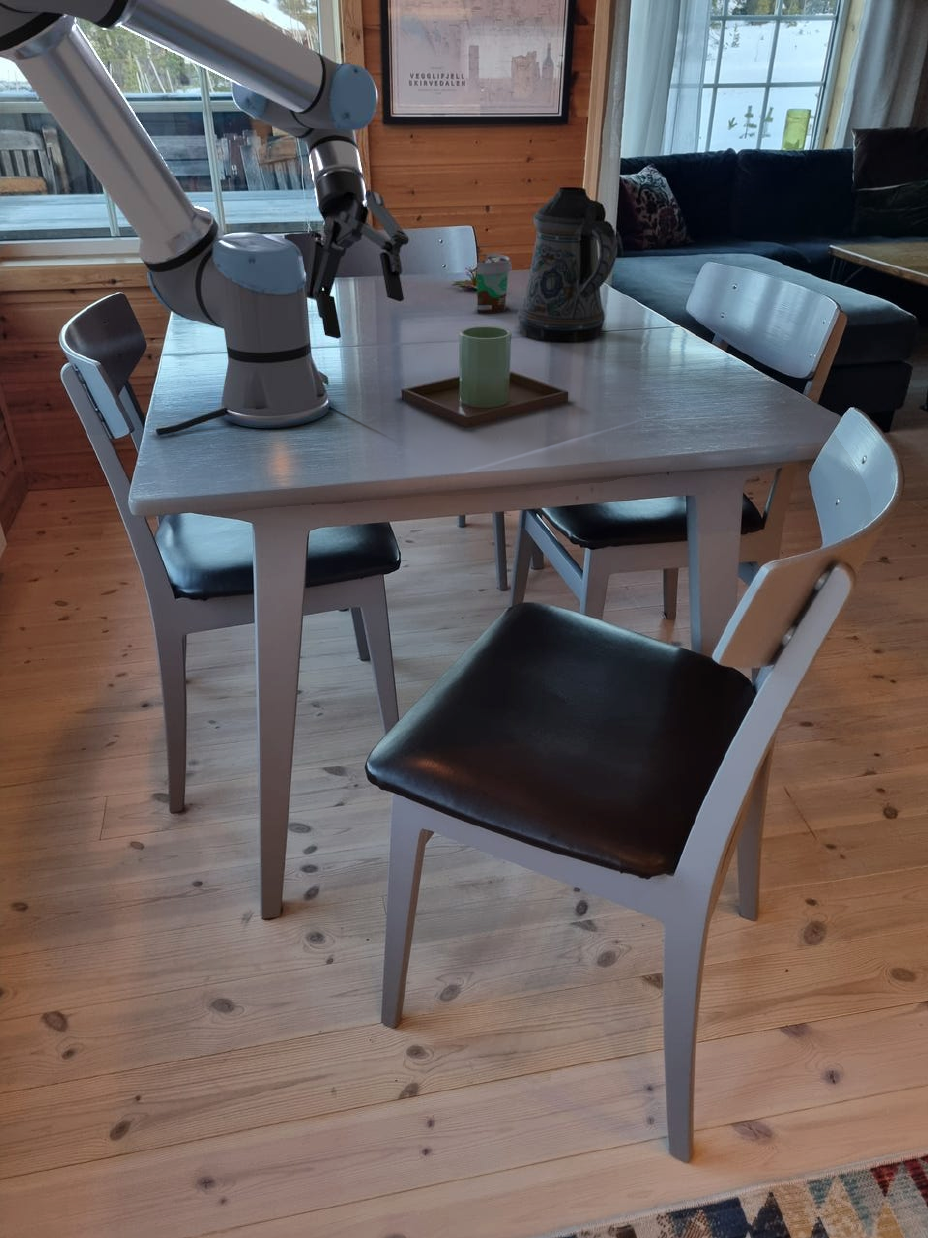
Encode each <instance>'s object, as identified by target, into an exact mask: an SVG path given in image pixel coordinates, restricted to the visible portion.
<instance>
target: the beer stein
mask: <svg viewBox="0 0 928 1238" xmlns="http://www.w3.org/2000/svg"><path fill="white" fill-rule="evenodd" d="M606 213H607V212H606V208H605V206H604V204H603V203H601V202H599V201H598V200H593V199H590V197H589V196H588V195H587V191H586V188H585V187H578V186H575V187H574V186H563V187H559V188H558V190H557V192H556V193H555V194H554V196H552V197H551V198H550V200H548V201H547V202H546V203H544V205H542V206H541V207H540V208H538V209H537V211H536V212H535V213H534V215H533V225H534V227H535V229H536V235H535V241H534V248H533V252H532V253H533V254H532V260H531V265H530V270H529V276H528V282H527V285H526V290H525V293H524V297H523V301H522V303H521V305H520V307H519V309H518V310H517V311H518V312H517V317H518V323H519V333H520V334H522V335H523V336H524V337H526V338H529V339H533V340H537V341H540V342H550V343H577V342H578V343H579V342H586V341H587V342H588V341H590V340H595V339H597V338H598V337H600V336H601V333H602V329H603V326H604V323H605V318H606V314H605V310H604V308H603V307H604V306H603V303H602V296H601V287H602V286H603V285H604V283H606V281H607V280H608V278H609V276H610V274H611V272H612V271H613V269H614V265H615V262H616V259H617V255H618V240H617V236H616V233H615V229H614V228H613V225H612V224H611V222H609V221H608V220H606V216H607V215H606ZM598 246H599V247H598ZM598 250H599V251H598Z"/></svg>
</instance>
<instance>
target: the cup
mask: <svg viewBox="0 0 928 1238" xmlns="http://www.w3.org/2000/svg"><path fill="white" fill-rule="evenodd" d="M511 356H512V331H511V330H509V328H504V327H500V326H491V325H480V326H479V325H477V326H471V327H465V328H463V329H461V330H460V331H459V376H460V401H461V402H462V403H463V404H465V405H467V406H471V407H478V408H492V407H499V406H502V405H505V404H507V403H508V402H509V394H510V371H511V358H512V357H511Z"/></svg>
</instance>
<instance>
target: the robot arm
mask: <svg viewBox="0 0 928 1238" xmlns="http://www.w3.org/2000/svg"><path fill="white" fill-rule="evenodd" d="M77 19H81V20H83V21H85V22H88V23H90V24H92V25H95V26H96V27H99V28H101V29H103V30H112V29H114V28H116V27H118V26H120V27H122V28H124V29H126V30H128V31H130V32H131V33H134V34H135V35H138V36H140V37H142V38H144V39H146V40H148V41H150V42H152V43H154V44H156V45H157V46H160V47H161V48H164V49H167V50H168V51H170V52H172V53H175V54H176V55H178V56H181V57H182V58H185V59H187V60H189V61H191V62H192V63H195V64H196V65H199V66H201V67H203V68H205V69H207V70H209V71H211V72H213V73H215V74H217V75H219V76H221V77H223V78H225V79H227V80H230V81H231V96H232V100H233V102H234V104H235V105H236V107H237V108H238V109H239V110H240V111H242V112H244V113H246V114H247V115H248V116H250V117H252V118H253V119H254V120H258V121H260V122H262V123H265V124H267V125H269V126H271V127H274V128H276V129H277V130H280V131H282V132H284V133H286V134H288V135H291V136H292V137H294V138H296V139H298V140H301V141H302V142H304V143H305V145H306V149H307V154H308V155H307V156H308V159H309V165H310V170H311V176H312V183H313V186H314V193H315V198H316V204H317V209H318V212H319V214H320V215H321V217H322V219H323V228H322V229H321V230H319V231H315V230H311V231H310V232H309V244H310V248H309V256H308V263H307V272H306V271H305V265H304V261H303V254H302V252H301V250H300V248H299V247H298V246H297V245H296V244H295V243H294V242H293V241H291V240H289V239H286V238H284V237H282V236H278V235H273V234H267V233H266V234H262V233H259V232H233V233H227V234H225V233H224V232H223V230H222V228H221V227H220V226H219V224H218V222H217V221H216V219H215V217H214V216H213V215H212V213H211V212H210V210H208V209H207V208H204V207H200V206H195V205H193V203H192V202H191V200H190V199H189V198H188V196H187V194H186V193H185V190H184V189H183V188H182V186H181V184H180V183H179V182H178V180H177V179H176V177H175V175H174V173H173V172H172V171H171V169H170V167H169V166H168V164H167V163H166V161H165V160H164V158H163V156H162V155H161V153H160V152H159V150H158V149H157V147H156V145H155V144H154V142H153V141H152V139H151V138H150V136H149V134H148V133H147V131H146V129H145V128H144V127H143V125H142V124H141V122H140V120H139V119H138V117H137V116H136V114H135V112H134V111H133V109H132V107H131V106H130V105H129V102H128V101H127V99H126V97H124V95H123V94H122V92H121V91H120V88H119V87H118V86H117V84H116V83H115V81H114V79H113V78H112V76H111V75H110V73H109V72H108V70H107V68H106V67H105V65H104V64H103V62H102V61H101V59H100V57H99V56H98V54H97V53H96V51H95V50H94V48H93V47H92V45H91V43H90V42H89V40H88V39H87V37H86V35H85V34H84V32H83V31H82V29H81V28H80V26H79V25H78V23H77ZM0 58H2V59H6V60H9V61H11V62H13V64H15V66H16V67H17V68H18V69H19V71H20V73H21V74H22V75H23V77H24V78H25V79H26V81H27V82H28V83H29V85H30V87H31V88H32V89H33V90H34V92H35V93H36V95H37V96H38V98H39V99H40V100H41V102H42V103H43V104H44V106H45V108H46V109H47V110H48V112H49V113H50V114H51V116H52V117H53V118H54V121H56V123H57V124H58V126H59V127H60V128H61V130H62V131H63V133H64V134H65V135H66V137H67V139H68V140H69V141H70V143H71V144H72V145H73V147H74V148H75V150H76V151H77V152H78V154H79V155H80V157H81V158H82V159H83V161H84V162H85V163H86V165H87V167H89V169H90V171H91V172H92V174H93V175H94V176H95V178H96V179H97V181H98V182H99V184H100V185H101V186H102V187H103V189H104V190H105V192H106V193H107V194H108V196H109V197H110V198H111V200H112V201H113V203H114V204H115V206H116V207H117V208H118V210H119V211H120V213H121V214H122V216H123V217H124V218H125V220H126V221H127V223H128V224H129V225H130V227H131V228H132V230H133V231H134V232H135V234H136V235H137V237H138V239H139V240H140V244H139V249H138V255H139V258H140V259H141V261H142V262H143V263H144V265H145V267H146V268H147V273H146V278H147V282H148V285H149V287H150V290H151V292H152V293H153V295H154V296H155V298H156V299H157V301H158V302H159V303H160V304H161V305H162V306H163V307H164V308H166V309H167V310H169V311H170V312H172V313H173V314H174V315H176V316H179V317H181V318H183V319H186V320H188V321H191V322H198V323H201V324H205V325H209V326H213V327H217V328H220V329H223V331H224V338H225V339H224V340H225V346H226V352H227V361H228V362H227V368H226V373H225V379H224V384H223V385H224V386H223V390H222V394H221V395H222V396H221V401H220V403H221V408H220V409H217V410H214V411H211V412H208V413H204V414H202V415H199V416H196V417H194V418H190V419H188V420H186V421H183V422H180V423H176V424H173V425H170V426H163V427H159V428H155V433H156V435H157V436H158V437H159V436H164V435H170V434H174V433H178V432H181V431H184V430H187V429H190V428H193V427H194V426H198V425H200V424H202V423H206V422H209V421H211V420H215V419H218V418H220V417H223V418H224V419H225V420H226V421H228V422H230V423H232V424H234V425H237V426H242V427H245V428H246V427H248V428H254V429H255V428H256V429H279V428H288V427H293V426H295V427H296V426H301V425H304V424H309V423H311V422H314V421H316V420H319V419H321V418H322V417H324V416H325V415H326V414H327V413H329V410H330V403H329V395H328V392H327V390H326V387H325V385H326V386H328V387H329V386H330V385H329V377H328V376H327V375H325V373H323V372H321V371H320V370H318V368H317V365H316V364H315V360H314V358H313V353H312V343H311V330H310V317H309V306H308V305H309V304H308V299H310V300H314V301H315V303H316V309H317V313H318V316H319V318H320V319H321V322H322V327H323V333H324V336H326V337H330V338H333V339H336V340H337V339H340V338H341V337H342V333H341V328H340V327H341V326H340V321H339V318H338V317H339V316H338V311H337V306H336V299H335V296H332V295H331V294H332V290H333V287H334V283H335V280H336V277H337V272H338V270H339V266H340V263H341V261H342V258H343V257H344V256H345V255H346V252H347V249H349V248H350V247H352V246H353V244H354V243H357V242H359V241H360V240H362V237H363V236H364V237H365V238H367V239H369V240H370V241H371V242H372V243H374V244H375V245H377V246H378V247H379V248H380V249H381V250H383V251H382V252H380V253H379V260H380V265H381V270H382V275H383V281H384V286H385V291H386V297H387V298H389V299H391V300H395V301H397V302H402V301H405V297H404V296H405V295H404V292H403V286H402V281H401V274H403V267H402V262H401V255H400V253H401V249H402V247H403V246H405V245H407V244H408V243H409V240H410V239H409V236H408V235H407V234H406V232H405V231H404V230H403V228H402V227H401V226H400V224H399V222H397V220H396V219H395V218H394V217H393V215H392V213H391V212H390V211H389V210H388V208H387V207H386V204H385V200H384V197H383V195H381V194H379V193H377V192H375V191H373V190H371V189H366V184H365V181H364V176H363V170H362V164H361V158H360V154H359V148H358V144H357V143H358V142H357V137H356V132H355V131H358V130H362V129H364V128H366V127H368V125H370V124H371V122H372V121H373V120H374V117H375V115H376V111H377V106H378V90H377V86H376V83H375V80H374V77H373V76H372V75H371V73H370V72H369V71H368V70H367V69H366V68H365V67H363V66H362V65H359V64H355V63H354V64H352V63H350V62H342V63H339V62H335V61H333V60H331V59H330V58H328V57H326V56H324V55H323V54H321V53H319V52H317V51H315V50H313V49H311V48H310V47H308V46H306V45H304V44H303V43H300V41H297V40H296V39H294V38H292V37H291V36H289V35H287V34H286V33H284V32H282V31H280V30H278V29H277V28H275V27H273V26H272V25H270V24H268V23H267V22H265V21H263V20H262V19H260V18H258V17H257V16H254V15H253V14H251V13H250V12H248V11H246V10H245V9H243V8H241V7H239V6H238V5H236V4H234V3H232V2H231V1H229V0H0ZM369 212H371V213H372V215H373V216H374V218H375V219H376V220H377V222H378V223H379V225H380V226H381V227H382V228H383V230H384V231H385V232H386V234H387V235H388V236H389V237H390V238H388V237H387V236H385V235H384V234H382V233H381V232H380V231H378V230H377V229H376V228H375V227H374V226H372V225H371V224H369V223H368V222H367V220H368V216H369ZM333 244H334V245H335V246H337V247H338V248H336V247H334V246H333ZM324 384H325V385H324Z"/></svg>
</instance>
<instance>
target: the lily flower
mask: <svg viewBox="0 0 928 1238" xmlns="http://www.w3.org/2000/svg"><path fill="white" fill-rule="evenodd" d="M474 268H475V267H474V266H473V269H474ZM464 269H465V270H468V271H466V276H468V277H469V278H470V279H465V280H456V281H452V283H453V284H451V285H450V287H453V286H458V290H463V289H476V290H477V269H475V270H474V272H473V270H472V269H471V267H470V266H468V268H467V267H464ZM474 273H475V274H474Z"/></svg>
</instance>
